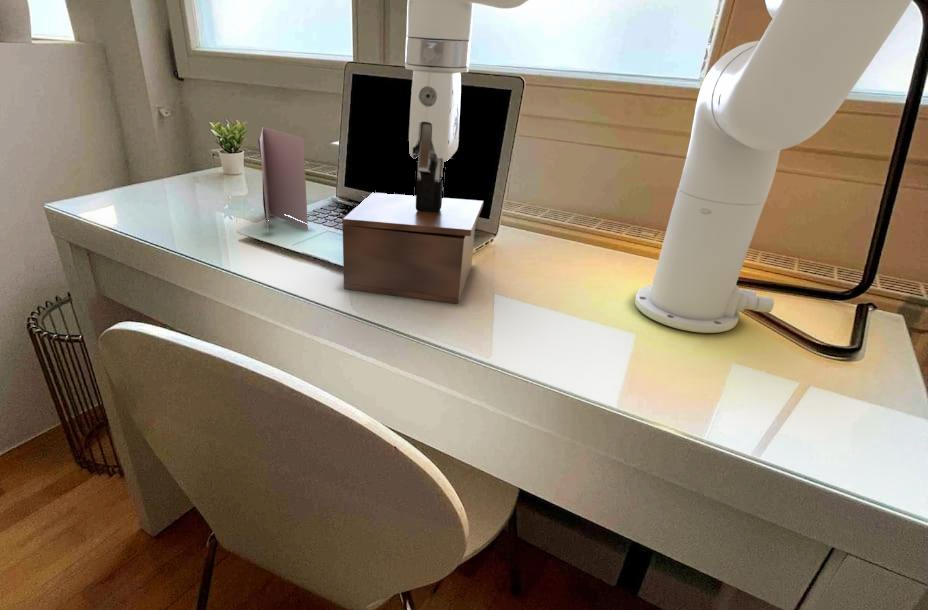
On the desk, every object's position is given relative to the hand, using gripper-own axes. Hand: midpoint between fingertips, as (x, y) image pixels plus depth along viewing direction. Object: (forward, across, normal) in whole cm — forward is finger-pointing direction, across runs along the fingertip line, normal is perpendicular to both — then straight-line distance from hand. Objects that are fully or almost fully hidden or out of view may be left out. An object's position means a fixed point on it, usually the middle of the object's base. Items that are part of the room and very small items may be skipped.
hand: (428, 209), depth 76 cm
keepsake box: (+10, 0, +2) cm, 10 cm away
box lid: (+1, 0, +2) cm, 2 cm away
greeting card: (+10, +16, +28) cm, 34 cm away
